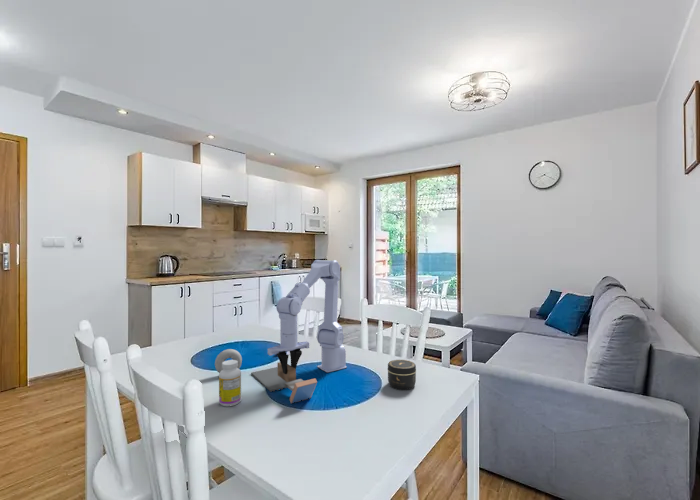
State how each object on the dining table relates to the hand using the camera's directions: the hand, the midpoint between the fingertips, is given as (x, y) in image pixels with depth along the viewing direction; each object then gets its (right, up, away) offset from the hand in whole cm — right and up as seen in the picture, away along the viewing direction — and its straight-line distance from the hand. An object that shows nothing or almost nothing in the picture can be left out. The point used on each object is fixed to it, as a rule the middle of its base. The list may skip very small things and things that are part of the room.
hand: (289, 372), depth 118 cm
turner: (0, -3, -1) cm, 3 cm away
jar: (+39, -7, +5) cm, 40 cm away
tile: (+5, -6, -7) cm, 10 cm away
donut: (-26, -7, +15) cm, 31 cm away
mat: (-7, -6, +11) cm, 14 cm away
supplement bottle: (-17, -7, -8) cm, 20 cm away
